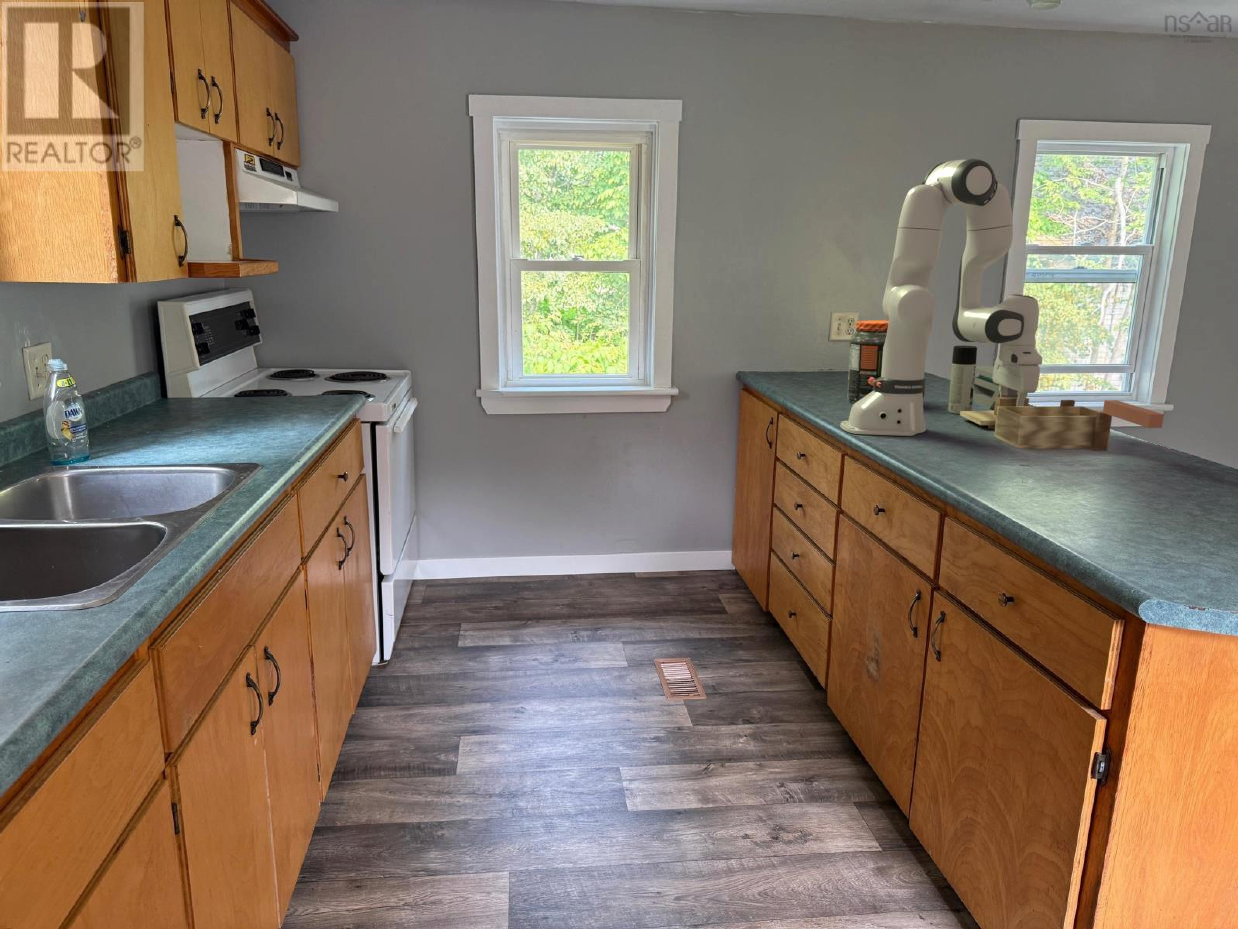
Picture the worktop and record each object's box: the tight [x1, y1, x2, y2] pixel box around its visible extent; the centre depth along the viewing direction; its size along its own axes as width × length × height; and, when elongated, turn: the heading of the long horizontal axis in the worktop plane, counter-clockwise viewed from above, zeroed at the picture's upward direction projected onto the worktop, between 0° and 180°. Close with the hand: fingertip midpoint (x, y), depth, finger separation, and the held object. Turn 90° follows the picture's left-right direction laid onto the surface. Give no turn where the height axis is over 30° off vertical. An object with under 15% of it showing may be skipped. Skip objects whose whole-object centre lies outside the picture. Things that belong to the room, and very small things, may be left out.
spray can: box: [947, 345, 978, 415], centre depth 253 cm, size 7×7×20 cm
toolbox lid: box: [959, 397, 1030, 430], centre depth 237 cm, size 22×14×8 cm, turn 90°
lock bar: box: [1102, 399, 1165, 429], centre depth 194 cm, size 3×18×3 cm, turn 0°
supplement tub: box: [847, 319, 889, 404], centre depth 271 cm, size 16×16×26 cm
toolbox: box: [993, 399, 1113, 451], centre depth 214 cm, size 22×19×9 cm
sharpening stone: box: [973, 365, 1018, 410], centre depth 266 cm, size 25×8×11 cm, turn 0°
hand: (1011, 404), depth 236 cm, fingers open, 8 cm apart
